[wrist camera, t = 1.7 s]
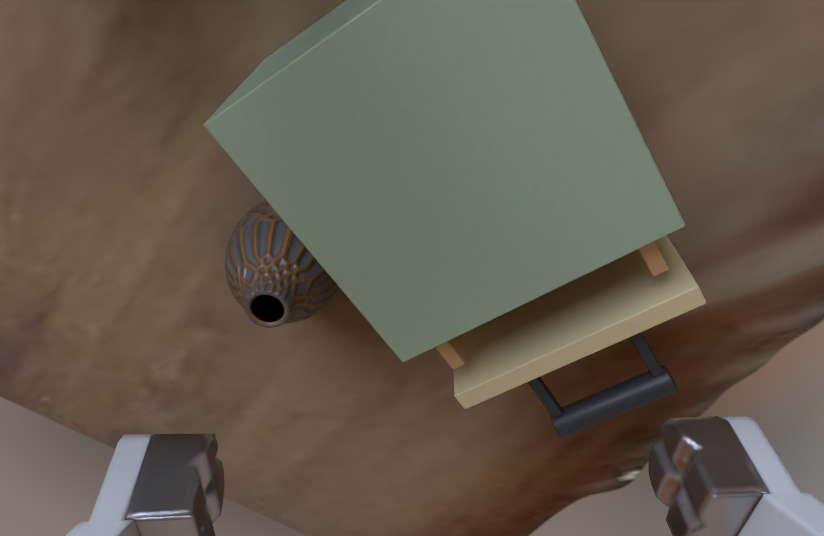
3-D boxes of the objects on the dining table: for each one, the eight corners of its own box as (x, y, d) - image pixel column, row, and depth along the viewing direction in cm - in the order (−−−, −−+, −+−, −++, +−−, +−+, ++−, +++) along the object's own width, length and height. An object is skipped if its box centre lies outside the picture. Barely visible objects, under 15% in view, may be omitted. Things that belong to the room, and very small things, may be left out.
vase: (238, 262, 42) (195, 345, 35) (251, 168, 39) (206, 239, 31) (340, 286, 43) (320, 372, 36) (362, 196, 39) (344, 271, 32)
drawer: (690, 287, 41) (746, 381, 33) (503, 371, 45) (515, 472, 38) (552, 18, 33) (585, 62, 25) (339, 152, 37) (313, 224, 29)
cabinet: (625, 138, 37) (686, 226, 28) (411, 254, 42) (402, 363, 32) (499, -112, 31) (525, -104, 21) (264, 59, 35) (202, 125, 26)
